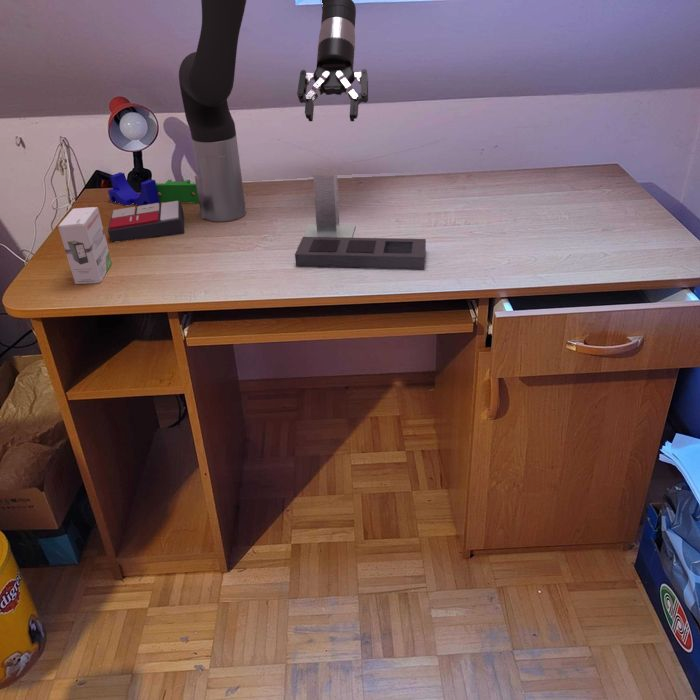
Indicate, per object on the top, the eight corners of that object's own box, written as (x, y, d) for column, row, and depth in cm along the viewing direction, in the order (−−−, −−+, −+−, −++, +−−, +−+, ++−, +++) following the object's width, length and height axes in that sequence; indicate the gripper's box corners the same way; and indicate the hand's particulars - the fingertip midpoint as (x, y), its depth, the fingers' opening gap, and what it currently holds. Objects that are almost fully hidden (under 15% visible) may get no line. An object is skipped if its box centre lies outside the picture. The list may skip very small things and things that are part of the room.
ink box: (87, 264, 130) (71, 206, 124) (113, 263, 130) (98, 205, 124) (74, 285, 123) (56, 225, 117) (101, 283, 123) (84, 223, 117)
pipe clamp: (205, 198, 159) (202, 179, 157) (200, 204, 156) (197, 185, 154) (159, 197, 160) (156, 179, 158) (154, 203, 157) (150, 184, 155)
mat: (299, 246, 134) (299, 244, 133) (308, 226, 142) (308, 224, 142) (349, 247, 132) (349, 245, 132) (355, 227, 141) (355, 225, 140)
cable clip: (110, 202, 159) (104, 178, 156) (125, 196, 162) (120, 172, 159) (145, 211, 153) (140, 186, 150) (160, 205, 156) (155, 180, 153)
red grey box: (110, 208, 146) (179, 197, 148) (116, 226, 148) (184, 215, 150) (106, 227, 137) (179, 215, 139) (112, 246, 139) (184, 234, 141)
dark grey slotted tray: (295, 266, 126) (294, 253, 125) (303, 248, 133) (302, 236, 131) (424, 269, 123) (424, 256, 122) (425, 250, 130) (425, 238, 128)
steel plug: (317, 238, 136) (313, 175, 129) (320, 230, 139) (316, 168, 132) (336, 238, 135) (333, 175, 128) (339, 230, 138) (336, 168, 131)
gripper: (298, 36, 135) (292, 109, 132) (369, 34, 133) (364, 109, 130) (305, 59, 142) (299, 129, 139) (372, 58, 140) (367, 129, 137)
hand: (330, 119), depth 135 cm, fingers open, 8 cm apart
